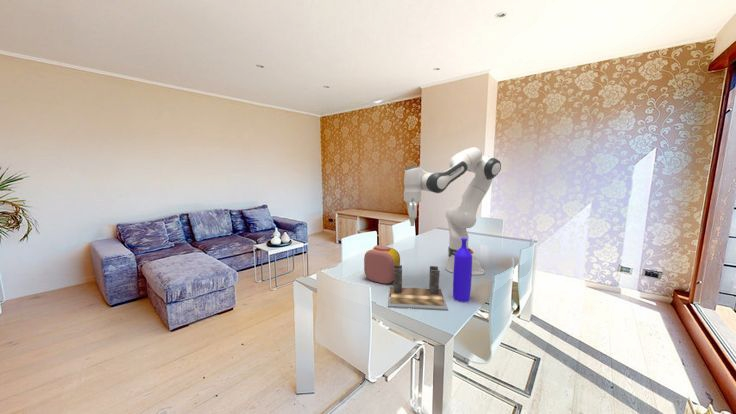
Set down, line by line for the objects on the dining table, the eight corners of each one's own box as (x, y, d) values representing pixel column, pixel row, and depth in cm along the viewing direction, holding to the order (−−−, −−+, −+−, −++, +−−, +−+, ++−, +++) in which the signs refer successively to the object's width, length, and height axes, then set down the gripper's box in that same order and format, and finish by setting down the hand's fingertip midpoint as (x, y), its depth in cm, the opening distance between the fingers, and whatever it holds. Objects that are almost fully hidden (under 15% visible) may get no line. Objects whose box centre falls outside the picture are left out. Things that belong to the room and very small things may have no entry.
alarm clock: (400, 279, 157) (401, 246, 154) (392, 286, 147) (393, 252, 144) (372, 273, 166) (372, 242, 163) (363, 280, 156) (362, 247, 153)
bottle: (449, 294, 138) (452, 236, 134) (465, 294, 139) (468, 236, 134) (456, 302, 130) (459, 241, 125) (473, 302, 131) (476, 240, 126)
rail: (442, 302, 129) (442, 296, 128) (443, 305, 126) (443, 299, 125) (391, 300, 131) (391, 294, 131) (391, 303, 128) (391, 297, 128)
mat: (445, 301, 131) (445, 300, 131) (447, 310, 123) (448, 308, 123) (388, 299, 134) (388, 297, 134) (387, 307, 126) (387, 305, 126)
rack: (440, 291, 141) (441, 265, 139) (443, 299, 133) (444, 271, 131) (390, 289, 144) (390, 264, 142) (389, 296, 136) (389, 269, 134)
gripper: (419, 200, 132) (419, 228, 134) (417, 195, 152) (416, 220, 154) (406, 200, 133) (406, 228, 135) (405, 195, 153) (405, 220, 155)
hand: (411, 223), depth 145 cm, fingers open, 8 cm apart
